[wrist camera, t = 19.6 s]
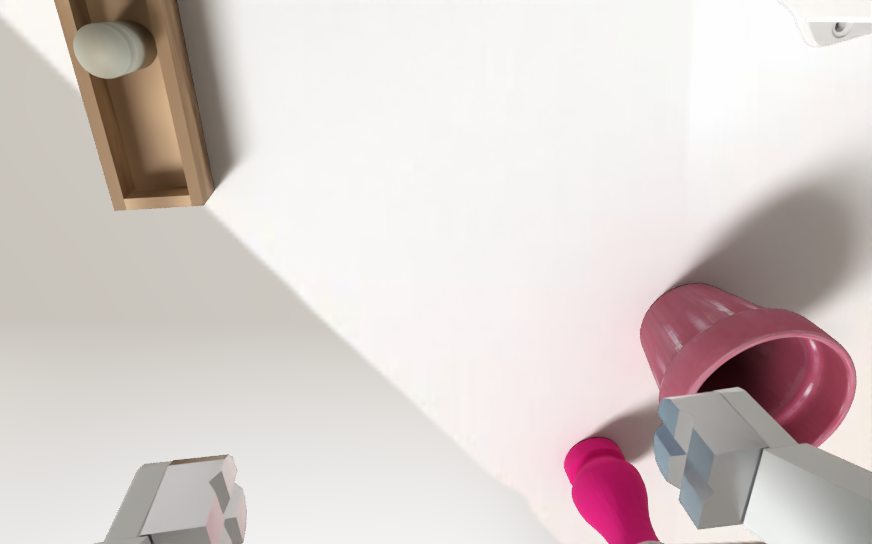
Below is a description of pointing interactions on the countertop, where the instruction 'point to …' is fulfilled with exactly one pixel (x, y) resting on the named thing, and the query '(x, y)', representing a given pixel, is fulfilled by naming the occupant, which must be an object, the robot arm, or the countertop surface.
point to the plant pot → (750, 358)
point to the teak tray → (139, 100)
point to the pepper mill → (609, 492)
